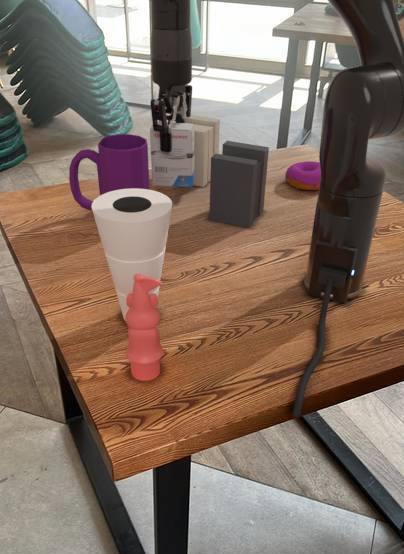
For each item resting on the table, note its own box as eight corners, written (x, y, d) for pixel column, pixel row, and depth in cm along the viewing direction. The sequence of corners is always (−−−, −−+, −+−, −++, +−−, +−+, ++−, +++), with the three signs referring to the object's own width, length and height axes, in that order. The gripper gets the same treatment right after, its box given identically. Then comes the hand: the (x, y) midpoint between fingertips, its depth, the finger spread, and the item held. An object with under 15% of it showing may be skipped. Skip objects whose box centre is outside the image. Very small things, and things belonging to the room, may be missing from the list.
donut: (314, 173, 133) (317, 154, 130) (340, 189, 126) (343, 169, 123) (276, 180, 130) (278, 160, 127) (300, 197, 123) (303, 176, 120)
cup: (188, 317, 87) (188, 205, 76) (134, 346, 81) (125, 230, 70) (143, 289, 93) (137, 182, 82) (89, 315, 87) (75, 203, 76)
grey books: (249, 228, 111) (254, 161, 103) (208, 219, 114) (210, 154, 105) (263, 211, 117) (269, 147, 109) (224, 203, 120) (227, 140, 111)
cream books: (203, 187, 126) (204, 130, 118) (167, 180, 129) (166, 124, 121) (217, 174, 132) (219, 119, 124) (183, 168, 135) (183, 113, 127)
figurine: (165, 358, 79) (162, 263, 70) (165, 383, 75) (162, 285, 66) (128, 358, 79) (120, 263, 70) (126, 383, 75) (117, 285, 66)
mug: (146, 230, 109) (142, 151, 100) (67, 225, 111) (56, 146, 101) (155, 210, 116) (152, 134, 107) (80, 205, 118) (71, 130, 108)
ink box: (195, 179, 123) (195, 122, 115) (192, 188, 119) (192, 130, 112) (155, 177, 123) (153, 120, 116) (151, 186, 120) (149, 128, 112)
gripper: (173, 64, 100) (174, 161, 110) (205, 49, 110) (203, 138, 120) (135, 60, 102) (140, 154, 112) (170, 45, 112) (171, 133, 123)
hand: (173, 146), depth 116 cm, fingers closed on ink box, 5 cm apart
